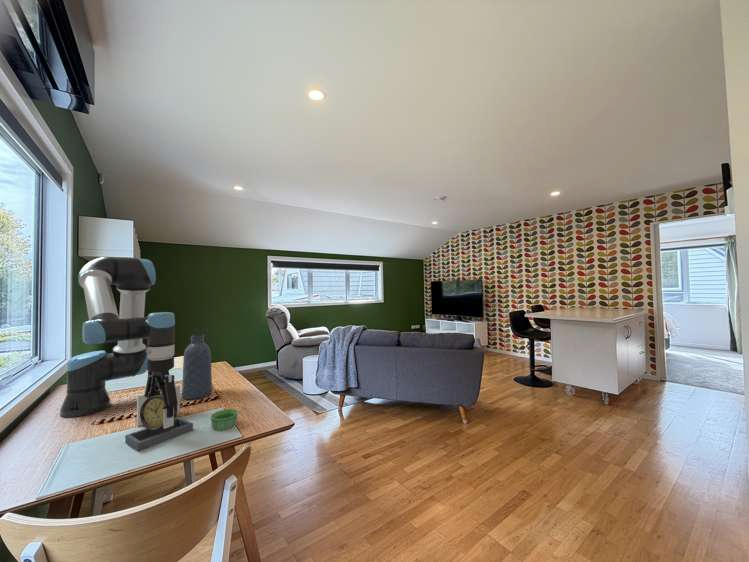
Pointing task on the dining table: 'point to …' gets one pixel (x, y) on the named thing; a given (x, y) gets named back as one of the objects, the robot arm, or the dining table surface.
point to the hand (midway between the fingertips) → (160, 422)
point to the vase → (197, 369)
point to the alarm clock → (154, 412)
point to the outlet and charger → (142, 399)
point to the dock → (157, 435)
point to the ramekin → (224, 419)
